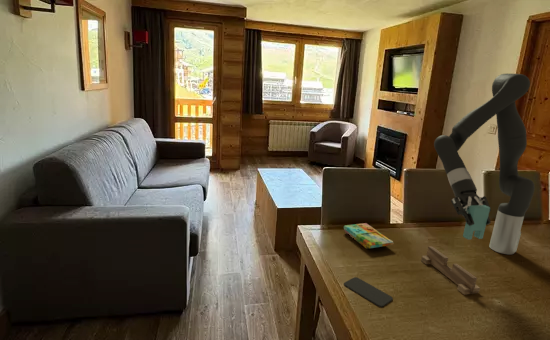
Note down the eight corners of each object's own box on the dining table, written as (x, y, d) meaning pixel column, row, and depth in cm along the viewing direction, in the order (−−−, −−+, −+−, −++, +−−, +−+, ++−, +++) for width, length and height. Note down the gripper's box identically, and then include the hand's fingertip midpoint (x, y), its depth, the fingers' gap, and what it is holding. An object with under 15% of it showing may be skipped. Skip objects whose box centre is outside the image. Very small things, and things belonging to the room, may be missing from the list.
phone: (355, 276, 116) (394, 297, 104) (355, 278, 116) (393, 300, 105) (342, 283, 111) (381, 306, 100) (342, 285, 111) (380, 309, 100)
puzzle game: (365, 221, 154) (394, 240, 136) (364, 230, 155) (392, 250, 137) (344, 223, 150) (370, 243, 132) (342, 233, 151) (369, 254, 133)
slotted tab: (477, 235, 120) (484, 205, 117) (482, 238, 118) (490, 207, 115) (462, 236, 119) (469, 205, 116) (467, 239, 116) (475, 208, 113)
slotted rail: (433, 259, 131) (436, 245, 129) (478, 292, 110) (482, 277, 109) (420, 260, 130) (423, 246, 128) (463, 294, 109) (467, 278, 107)
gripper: (451, 178, 118) (470, 221, 110) (484, 177, 122) (504, 220, 114) (438, 187, 125) (455, 229, 117) (470, 186, 128) (488, 227, 120)
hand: (479, 224), depth 115 cm, fingers closed on slotted tab, 6 cm apart
